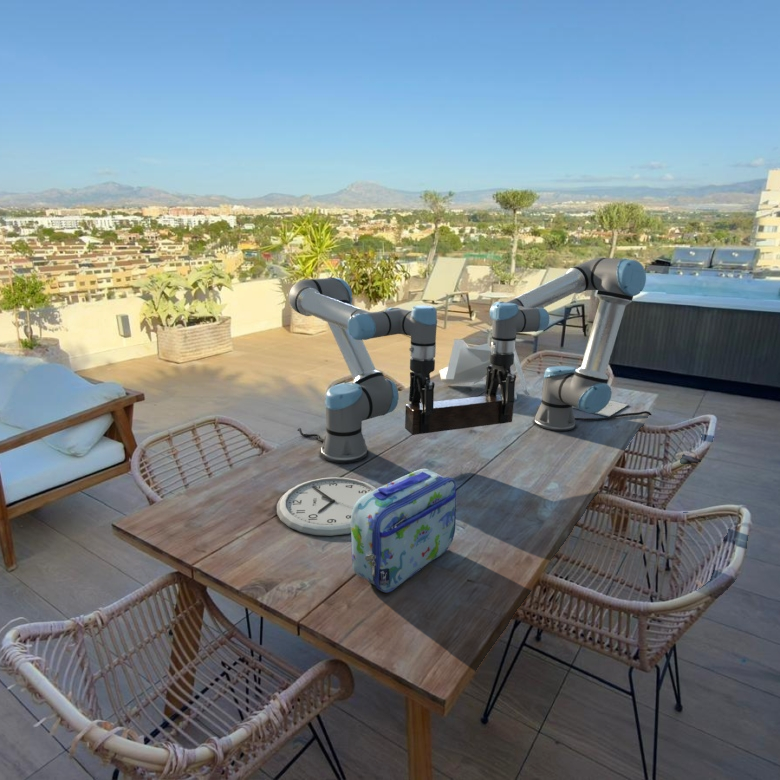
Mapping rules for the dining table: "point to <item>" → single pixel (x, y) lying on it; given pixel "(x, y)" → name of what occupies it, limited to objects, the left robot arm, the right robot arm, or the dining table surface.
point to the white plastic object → (473, 365)
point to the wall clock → (322, 505)
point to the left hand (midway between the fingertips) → (419, 428)
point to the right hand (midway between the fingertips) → (497, 419)
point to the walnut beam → (457, 414)
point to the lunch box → (402, 527)
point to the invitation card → (611, 408)
